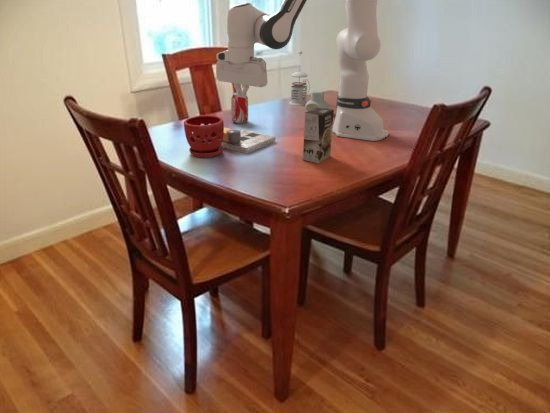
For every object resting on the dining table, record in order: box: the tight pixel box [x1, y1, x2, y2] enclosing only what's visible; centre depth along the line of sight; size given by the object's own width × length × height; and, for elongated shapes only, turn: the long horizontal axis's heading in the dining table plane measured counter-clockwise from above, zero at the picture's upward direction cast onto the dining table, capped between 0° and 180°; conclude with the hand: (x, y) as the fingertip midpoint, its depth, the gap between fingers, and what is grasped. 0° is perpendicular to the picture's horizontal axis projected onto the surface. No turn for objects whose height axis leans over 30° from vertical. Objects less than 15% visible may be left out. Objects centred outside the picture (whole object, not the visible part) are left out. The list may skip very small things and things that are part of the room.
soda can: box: [230, 91, 249, 124], centre depth 190 cm, size 7×7×12 cm
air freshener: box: [304, 89, 330, 112], centre depth 207 cm, size 11×8×10 cm
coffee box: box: [302, 108, 335, 164], centre depth 149 cm, size 9×6×16 cm
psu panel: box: [221, 129, 276, 154], centre depth 165 cm, size 16×17×2 cm
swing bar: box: [223, 126, 241, 143], centre depth 163 cm, size 5×16×3 cm, turn 48°
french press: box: [288, 50, 311, 106], centre depth 221 cm, size 10×12×25 cm
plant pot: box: [183, 114, 225, 159], centre depth 152 cm, size 13×13×12 cm
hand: (241, 97), depth 158 cm, fingers closed
